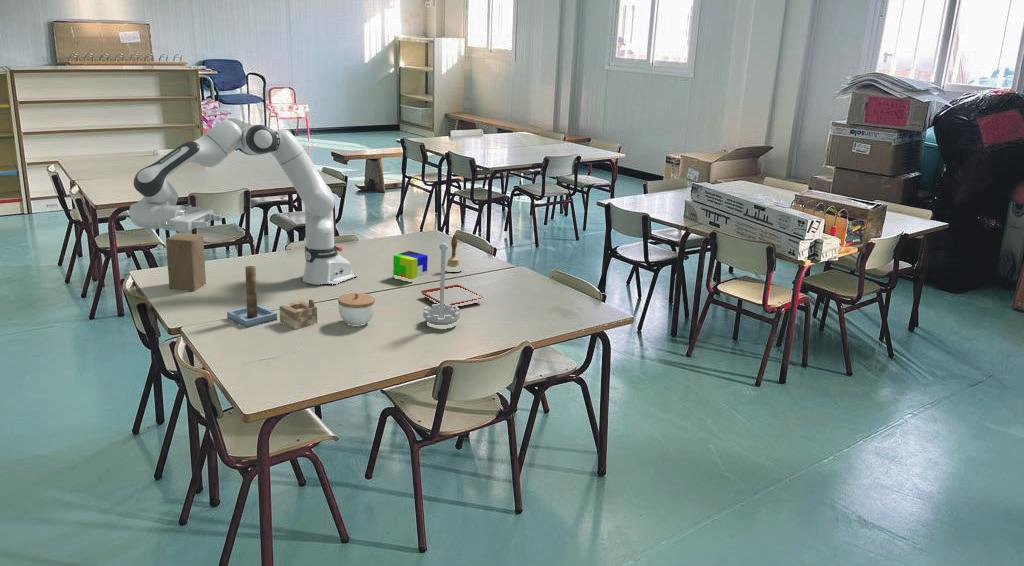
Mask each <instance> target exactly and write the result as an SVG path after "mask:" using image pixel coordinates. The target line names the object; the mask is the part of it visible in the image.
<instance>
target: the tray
mask: <svg viewBox="0 0 1024 566" xmlns="http://www.w3.org/2000/svg"><path fill="white" fill-rule="evenodd" d="M226 317H227V318H228V320H229V319H230V321H231V320H232V322H233V321H234V323H235V324H238V325H239V324H240V326H241V325H242V326H241V327H243V326H244V328H245V327H246V329H248V328H251V327H256V326H259V324H260V325H264V324H266V323H271V322H275V321H278V313H277V312H275V311H273V310H270V309H268V308H267V307H264V306H262V305H260V304H258V303H257V317H256V318H252V319H250V318H247V306H245V307H242V308H238V309H233V310H229V311H227V312H226ZM227 318H226V319H227ZM274 320H275V321H274ZM270 321H271V322H270ZM263 323H264V324H263Z"/></svg>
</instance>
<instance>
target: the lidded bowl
mask: <svg viewBox="0 0 1024 566" xmlns="http://www.w3.org/2000/svg"><path fill="white" fill-rule="evenodd" d="M337 300H338V301H337V302H338V309H339V310H338V312H339V315H340V318H341V319H342V320H343V321H344V322H345V324H346V323H347V324H350V325H361V324H365V323H367V324H368V322H370V321H371V319H372V318H373V317H374V314H375V313H374V311H375V306H376V305H375V304H376V303H375V302H376V297H374V296H373V295H372V294H368V293H363V292H351V293H345V294H342V295H340V296H339V297H338V299H337ZM347 324H346V325H347Z"/></svg>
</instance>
